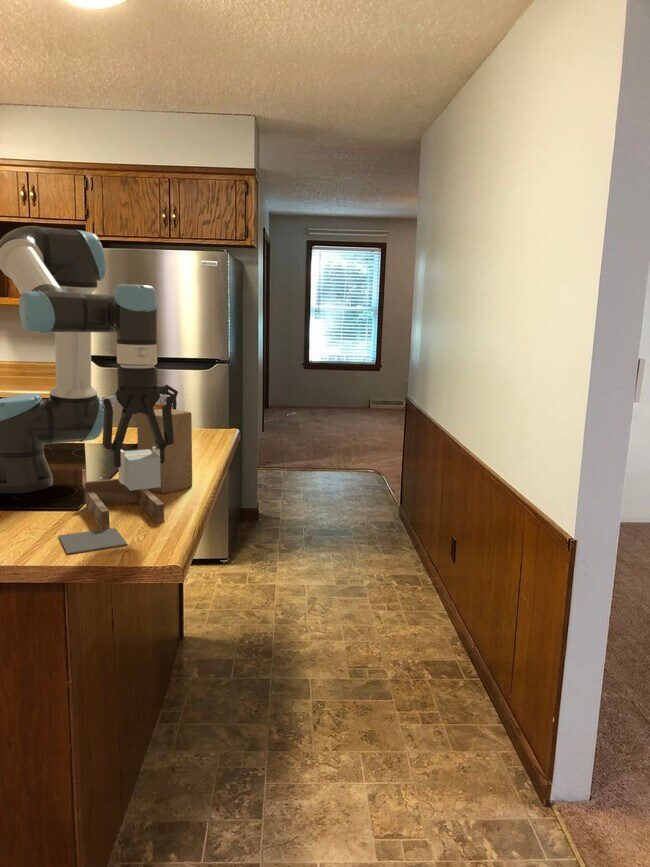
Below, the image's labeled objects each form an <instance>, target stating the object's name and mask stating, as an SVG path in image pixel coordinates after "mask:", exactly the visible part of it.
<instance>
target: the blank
mask: <svg viewBox="0 0 650 867" xmlns="http://www.w3.org/2000/svg"><path fill="white" fill-rule="evenodd" d="M124 451H125V471H126V484H124V485H125V486H126V487H127V488H128V489H129V490H139V489H148V488H157V487H161V473H160V457H159V456H157V455H156V454H155V453H154V452H152V451H151V450H150V449H146V450H138V449H136V450H124Z"/></svg>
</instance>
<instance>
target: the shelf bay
mask: <svg viewBox="0 0 650 867" xmlns="http://www.w3.org/2000/svg"><path fill="white" fill-rule="evenodd" d="M84 490H85V507H86V509H87V510H88V512H89V513H90V515H91V516H92V517H93V519H94V520H95V522H96V523H97V524H98V526H99V528H100V527H101V528H100V530H102V529H109V528H111V527H110V526H111V525H110V509H108V507H109V506H116V505H117V504H118V505H124V504H123V503H126V504H133V503H132V502H135V503H137V504H138V505H140V507H142V508H143V509H144V511H145V512H146V511H147V512H148V513H149V514H150V515H151V516H152V517H153V518H154V519H155V520H156V521H157V522H158V523H164V522H165V503H164V502H162V501H161V500H160V499H159V498H158V497H157V496H156V495H154V494H153V492H152V491H151V490H148V489H139V490H129V489H128V488H127V487H126V486H125V485H124V484H121V483H120V482H119V477H118V478H111V479H109V478H108V479H100V480H91V481H90V480H89V481H85V482H84ZM147 512H146V513H147ZM149 514H148V515H149ZM150 515H149V516H150ZM151 516H150V517H151ZM152 517H151V518H152ZM153 518H152V519H153ZM155 520H154V521H155ZM156 521H155V522H156ZM162 521H163V522H162ZM157 522H156V523H157Z"/></svg>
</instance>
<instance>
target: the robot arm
mask: <svg viewBox="0 0 650 867" xmlns="http://www.w3.org/2000/svg"><path fill="white" fill-rule="evenodd" d="M106 263H107V262H106V256H105V251H104V247H103V245H102V243H101V240H100V238H99V237H98V236H97V235H96V234H95V233H93V232H90V231H85V230H81V229H80V230H79V229H67V228H66V229H65V228H56V227H44V226H37V225H36V226H35V225H26V226H22V227H17V228H15V229H12V230H11V231H9V232H7V233H6V234H4V235H3V236H2V237H1V239H0V271H2V273H3V275H5V276H6V277H7V278H9V279H11V280H12V282H13V284H14V286H15V287H16V289H17V290H18V292H19V294H20V296H19V303H18V307H19V308H18V312H19V320H20V322H21V326H22V328H23V329H24V330H25V331H28V332H40V333H54V338H55V339H54V341H55V342H54V343H55V344H54V345H55V347H54V349H55V352H54V353H55V355H54V356H55V386H54V387H53V388H52V389H50V391H49V398H47V399H46V398H45V399H43V398H42V396H41V395H40V394H39V393H28V394H27V393H25V394H18V395H10V396H5V397H1V398H0V494H12V495H13V494H24V493H33V492H37V491H42V490H45V489H48V488H50V487H52V486H53V484H54V480H53V474H52V471H51V469H50V467H49V464H48V461H47V460H46V457H45V449H44V448H45V447H44V446H45V445H51V444H65V443H66V444H67V443H75V442H76V443H77V442H79V443H82V442H86V441H93V440H95V439H97V438H98V437H100V435H101V434H102V446H103V447H104V448H105V449H106V450H111V451H112V465H113V466H114V467H115V468H118V469H117V470H118V478H119V482H120V483H121V484H126V471H125V451H126V450H123V449H122V447H123V443H124V441H125V438H126V434H127V431H128V428H129V425H130V421H131V419H132V417H133V415H137V413H143V414H145V415H146V417H147V420H148V423H149V426H150V428H151V431H152V434H153V437H154V440H155V443H156V445H157V447H152V452H154V453H155V454H156V455H157V456H159V457H160V463H164V461H165V448H166V446H168V445H171V444H173V443H174V437H173V425H172V413H171V407H172V408H173V397H171V396H169V395H166V394H165V395H162V394H160V392H159V391H158V387H157V386H159V384H158V368H157V367H156V366H155V365H157V364H158V349H157V348H158V346H157V345H158V344H157V343H158V341H157V339H158V338H157V337H158V335H157V332H158V331H157V330H158V328H157V326H158V324H157V322H158V321H157V318H158V317H157V316H158V314H157V313H158V309H157V308H158V302H157V293H156V289H155V288H154V286H152V285H148V284H147V285H145V284H130V283H129V284H124V283H123V284H118V285H116V286H115V292H114V293H115V294H103V293H102V294H98V293H94V292H95V291H96V290H98V281H99V282H101V281H103V280H104V279H105V278H106V277H105V276H106V271H107V269H106V268H107V265H106ZM92 333H115V334H116V336H115V337H116V363H117V364H118V365H120V366H118V367H117V369H116V371H117V372H116V374H117V379H116V380H117V389H116V392H115V394H114V395H111V396H108V397H107V396H104V397H100V396H98V391H97V390H96V388H94V387H93V386H92ZM158 400H160V404H161V405H162V415H163V427H164V439H163V437H162V434H161V431H160V429H159V426H158V423H157V420H156V417H155V413H154V410H153V407H154V405H155V404H156V402H157V401H158ZM116 402H118V404H120V406H121V407H122V409H121V413H120V414H121V415H120V419H119V422H118V425H117V429H116V433H115V434H114V439H113V424H114V423H113V421H114V409H113V408H115V407H116Z"/></svg>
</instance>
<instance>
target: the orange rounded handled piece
mask: <svg viewBox="0 0 650 867" xmlns="http://www.w3.org/2000/svg"><path fill="white" fill-rule="evenodd" d="M157 387H158V391H159V392H160V394H162V395H169V396H171V397H173V403H172V407H171V409H175V410H177V407H178V405H177V396H178V394H179V390H176V389H174V388H173V387H172V386H169V385H168V384H165V385H158V386H157ZM170 391H171V392H170ZM157 409H162V405H161V404H160V400H158V401H157V402H156V404H155V405H154V407H153V410H157Z"/></svg>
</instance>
